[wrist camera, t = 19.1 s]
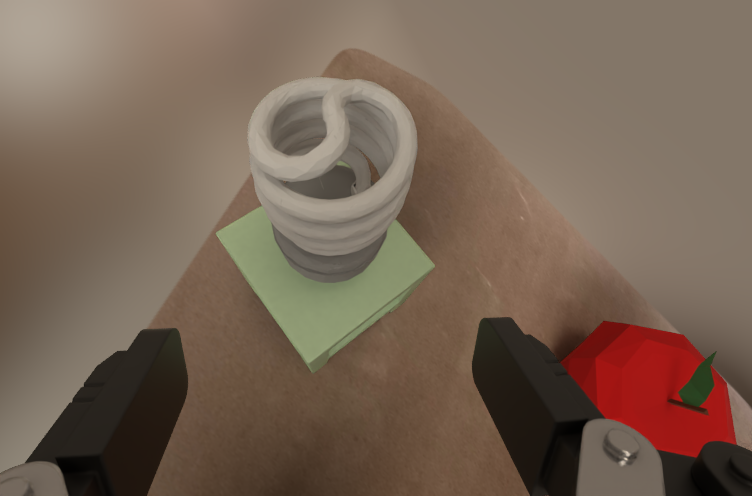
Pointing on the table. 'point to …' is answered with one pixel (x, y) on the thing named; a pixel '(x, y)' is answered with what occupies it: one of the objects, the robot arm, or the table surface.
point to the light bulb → (331, 171)
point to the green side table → (323, 286)
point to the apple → (654, 386)
